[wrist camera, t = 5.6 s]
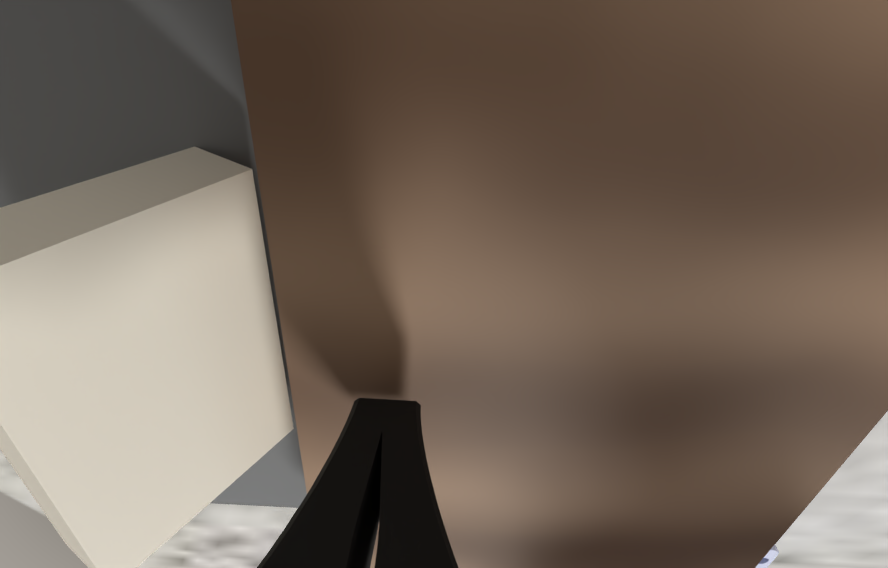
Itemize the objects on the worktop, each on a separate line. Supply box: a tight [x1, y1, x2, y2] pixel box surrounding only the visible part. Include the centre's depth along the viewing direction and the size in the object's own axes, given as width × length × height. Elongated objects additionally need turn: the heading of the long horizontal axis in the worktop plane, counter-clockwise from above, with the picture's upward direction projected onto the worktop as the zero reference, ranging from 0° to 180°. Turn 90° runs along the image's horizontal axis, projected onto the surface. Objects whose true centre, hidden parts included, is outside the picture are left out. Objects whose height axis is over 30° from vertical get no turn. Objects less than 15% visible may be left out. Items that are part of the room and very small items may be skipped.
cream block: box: [0, 147, 294, 568], centre depth 13 cm, size 9×6×2 cm
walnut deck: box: [231, 0, 888, 568], centre depth 14 cm, size 22×14×4 cm, turn 176°
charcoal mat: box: [0, 0, 307, 508], centre depth 15 cm, size 22×10×1 cm, turn 176°
